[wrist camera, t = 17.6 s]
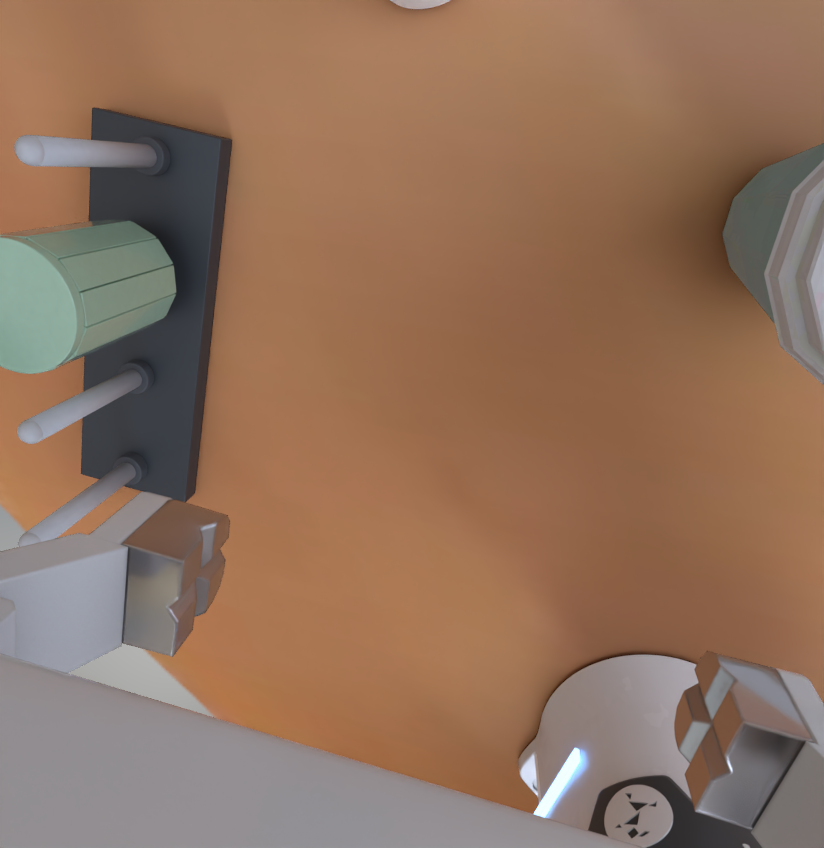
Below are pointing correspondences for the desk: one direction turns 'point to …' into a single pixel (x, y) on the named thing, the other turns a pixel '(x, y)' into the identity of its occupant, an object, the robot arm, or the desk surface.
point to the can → (419, 3)
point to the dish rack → (159, 343)
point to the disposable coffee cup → (784, 251)
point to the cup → (78, 290)
